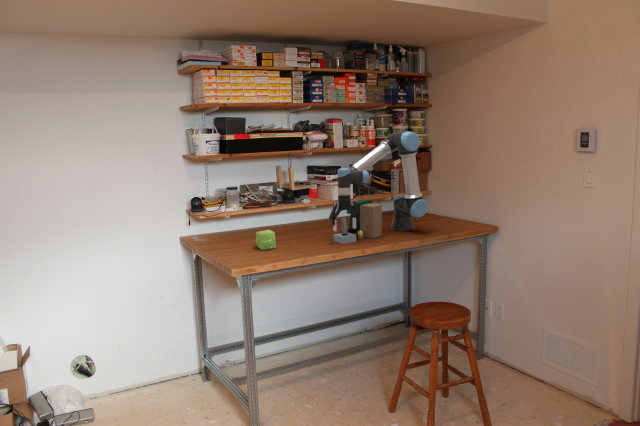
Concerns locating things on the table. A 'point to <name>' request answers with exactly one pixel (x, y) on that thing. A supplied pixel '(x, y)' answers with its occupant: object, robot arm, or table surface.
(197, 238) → the table surface
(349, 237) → the grey flat block
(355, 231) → the power tool
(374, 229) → the wooden block
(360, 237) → the short pin
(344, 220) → the long pin
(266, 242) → the green block
